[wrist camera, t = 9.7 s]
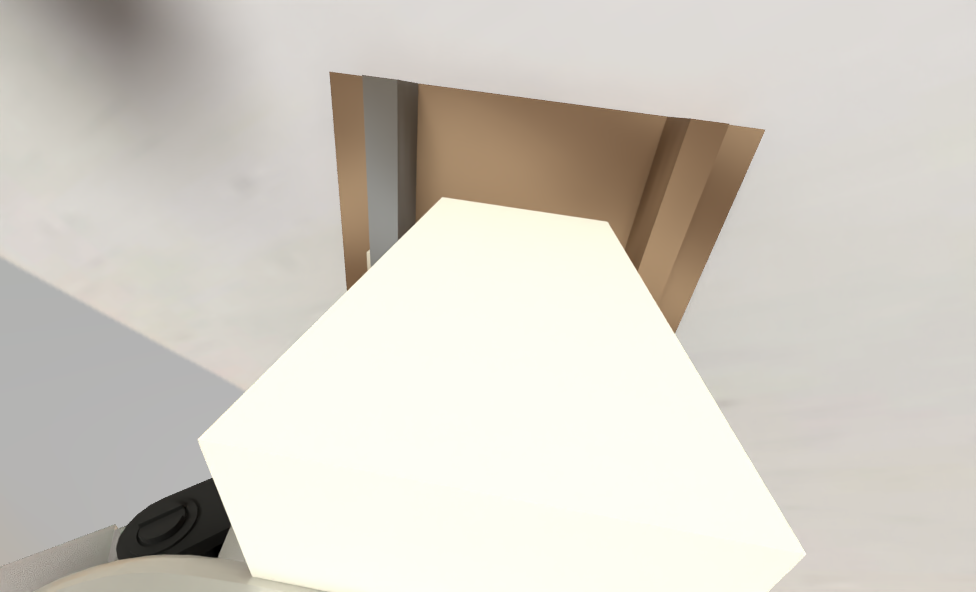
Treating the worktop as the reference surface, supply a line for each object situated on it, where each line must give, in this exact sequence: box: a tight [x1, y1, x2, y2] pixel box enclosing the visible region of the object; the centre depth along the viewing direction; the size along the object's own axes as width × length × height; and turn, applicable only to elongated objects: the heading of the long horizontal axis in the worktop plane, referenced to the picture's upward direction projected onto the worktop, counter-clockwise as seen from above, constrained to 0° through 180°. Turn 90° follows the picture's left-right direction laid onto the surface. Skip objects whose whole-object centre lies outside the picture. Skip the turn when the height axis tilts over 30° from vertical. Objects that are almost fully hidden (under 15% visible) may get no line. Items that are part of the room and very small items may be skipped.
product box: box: [198, 197, 806, 592], centre depth 9 cm, size 5×10×9 cm, turn 173°
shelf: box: [330, 72, 765, 334], centre depth 15 cm, size 16×14×4 cm
